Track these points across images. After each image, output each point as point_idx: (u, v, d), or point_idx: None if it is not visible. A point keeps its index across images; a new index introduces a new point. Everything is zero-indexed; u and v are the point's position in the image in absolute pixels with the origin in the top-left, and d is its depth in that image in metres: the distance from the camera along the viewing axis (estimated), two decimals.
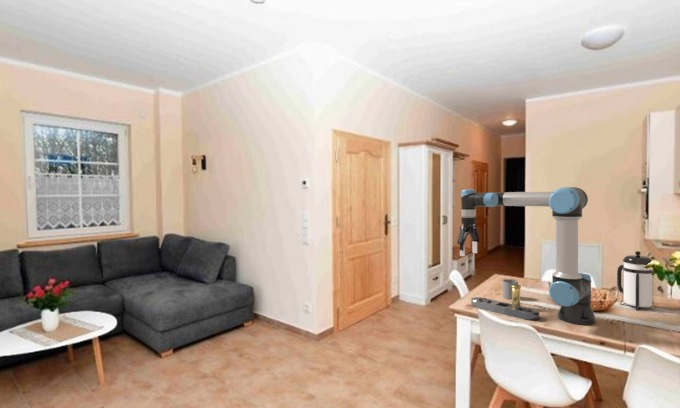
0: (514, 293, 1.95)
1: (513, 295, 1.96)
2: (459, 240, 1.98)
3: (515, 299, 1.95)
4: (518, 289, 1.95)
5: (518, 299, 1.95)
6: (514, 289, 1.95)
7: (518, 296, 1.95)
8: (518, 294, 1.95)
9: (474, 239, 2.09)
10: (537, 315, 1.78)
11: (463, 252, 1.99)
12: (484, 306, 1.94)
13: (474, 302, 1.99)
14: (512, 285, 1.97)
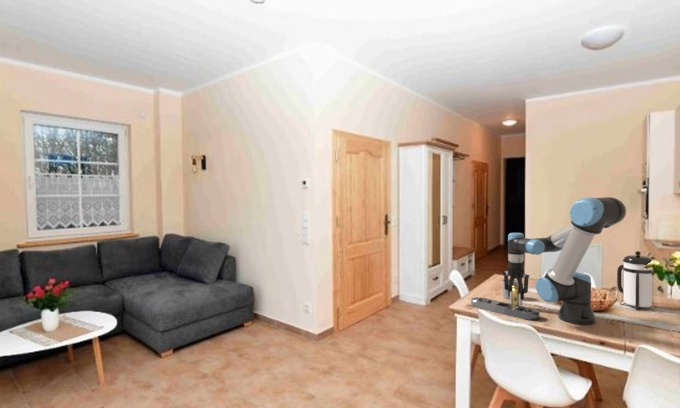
0: (514, 293, 1.95)
1: (513, 295, 1.96)
2: None
3: (515, 299, 1.95)
4: (518, 289, 1.95)
5: (518, 299, 1.95)
6: (514, 289, 1.95)
7: (518, 296, 1.95)
8: (518, 294, 1.95)
9: None
10: (537, 315, 1.78)
11: None
12: (484, 306, 1.94)
13: (474, 302, 1.99)
14: (512, 285, 1.97)
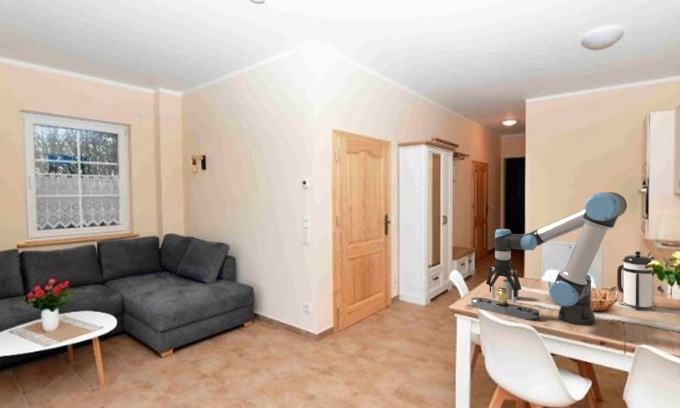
0: (501, 296, 1.90)
1: (500, 298, 1.90)
2: None
3: (502, 303, 1.90)
4: (505, 292, 1.89)
5: (505, 303, 1.89)
6: (501, 292, 1.90)
7: (505, 299, 1.89)
8: (505, 298, 1.89)
9: None
10: (537, 315, 1.78)
11: None
12: (484, 306, 1.94)
13: (474, 302, 1.99)
14: (499, 288, 1.91)
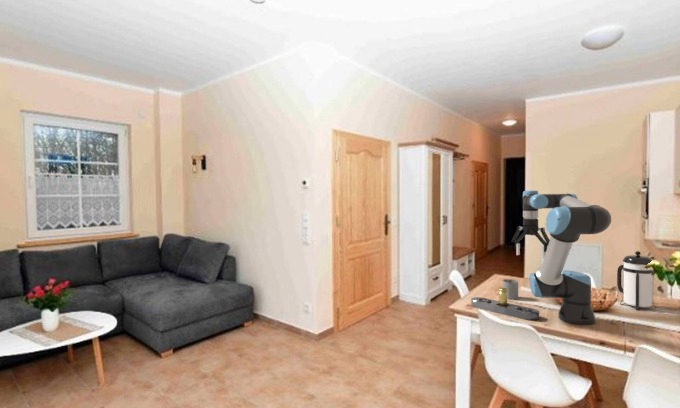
0: (501, 296, 1.90)
1: (500, 298, 1.90)
2: None
3: (502, 303, 1.90)
4: (505, 292, 1.89)
5: (505, 303, 1.89)
6: (501, 292, 1.90)
7: (505, 299, 1.89)
8: (505, 298, 1.89)
9: None
10: (537, 315, 1.78)
11: None
12: (484, 306, 1.94)
13: (474, 302, 1.99)
14: (499, 288, 1.92)
